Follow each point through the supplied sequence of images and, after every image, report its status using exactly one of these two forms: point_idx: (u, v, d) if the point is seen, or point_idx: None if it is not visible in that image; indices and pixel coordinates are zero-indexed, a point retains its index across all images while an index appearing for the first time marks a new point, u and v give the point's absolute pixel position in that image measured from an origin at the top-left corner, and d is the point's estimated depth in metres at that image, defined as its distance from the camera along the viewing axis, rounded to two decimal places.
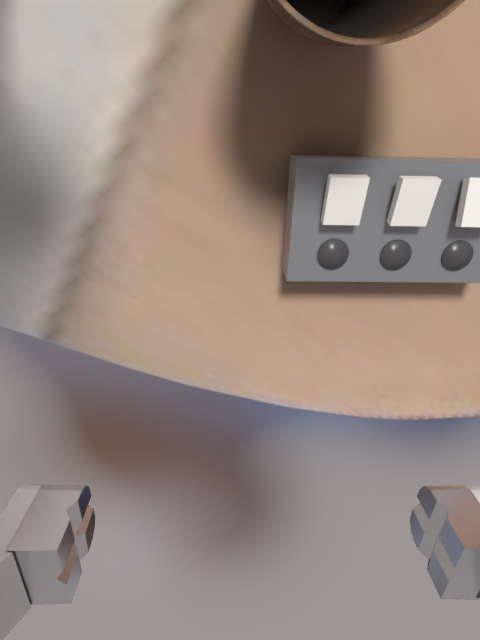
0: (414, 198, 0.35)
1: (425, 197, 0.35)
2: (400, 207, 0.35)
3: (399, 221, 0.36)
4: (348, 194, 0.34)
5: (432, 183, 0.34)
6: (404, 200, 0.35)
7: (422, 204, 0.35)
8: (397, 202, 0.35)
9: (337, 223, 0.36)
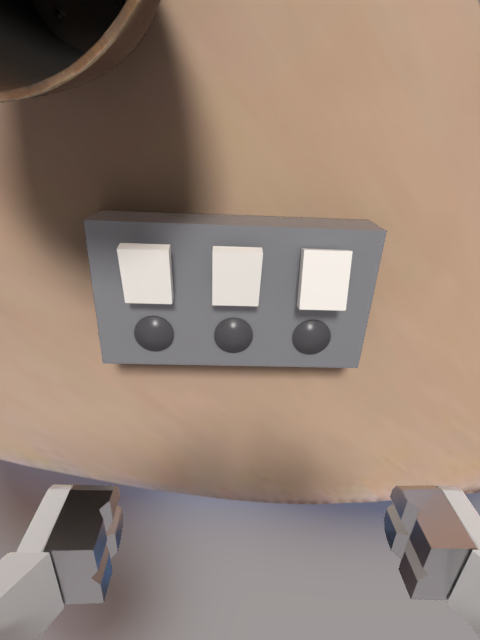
0: (234, 274, 0.27)
1: (247, 273, 0.27)
2: (219, 284, 0.28)
3: (222, 300, 0.28)
4: (146, 269, 0.27)
5: (252, 258, 0.26)
6: (221, 277, 0.27)
7: (246, 281, 0.28)
8: (213, 279, 0.27)
9: (143, 301, 0.28)
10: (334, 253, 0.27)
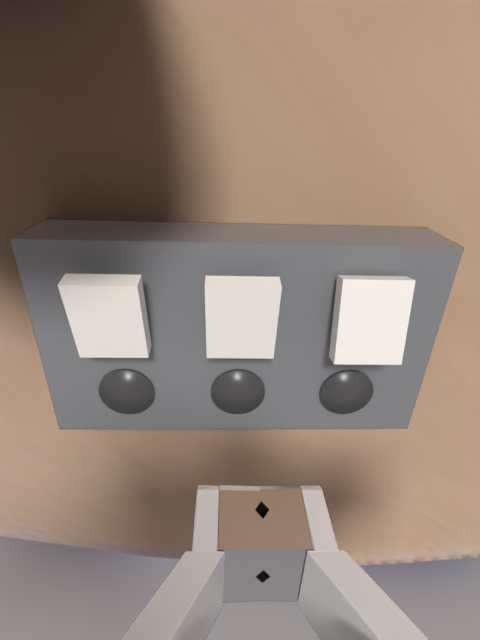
0: (238, 317, 0.18)
1: (258, 316, 0.18)
2: (215, 331, 0.19)
3: (221, 351, 0.20)
4: (106, 312, 0.18)
5: (265, 294, 0.17)
6: (219, 321, 0.18)
7: (256, 326, 0.19)
8: (207, 323, 0.18)
9: (106, 355, 0.19)
10: (389, 283, 0.18)
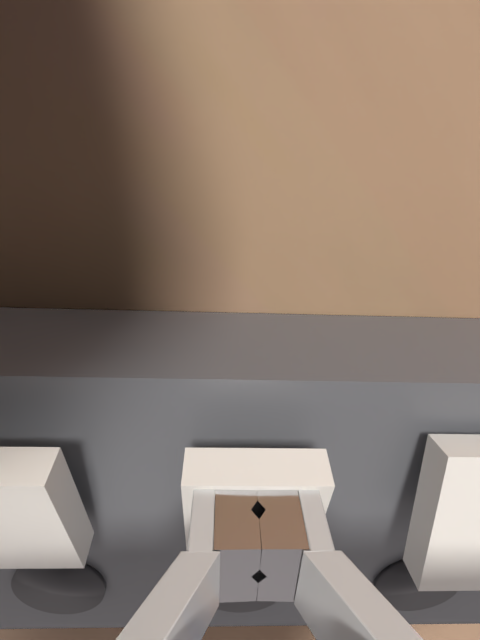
0: None
1: None
2: None
3: None
4: None
5: None
6: None
7: None
8: (188, 530, 0.10)
9: (6, 567, 0.11)
10: None
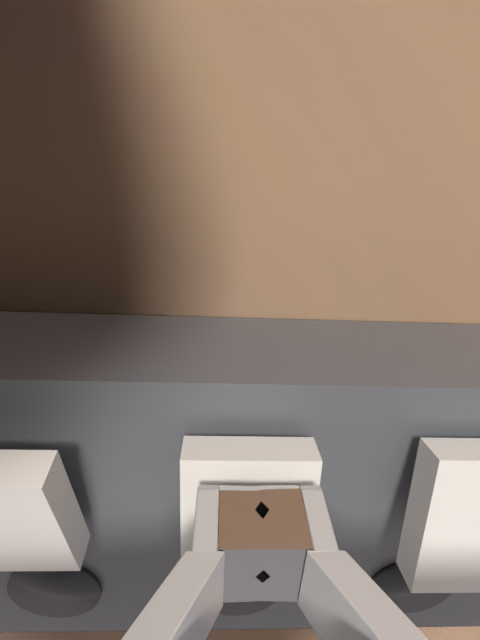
0: None
1: None
2: None
3: None
4: None
5: (291, 474, 0.09)
6: None
7: None
8: (183, 528, 0.10)
9: (3, 569, 0.11)
10: None
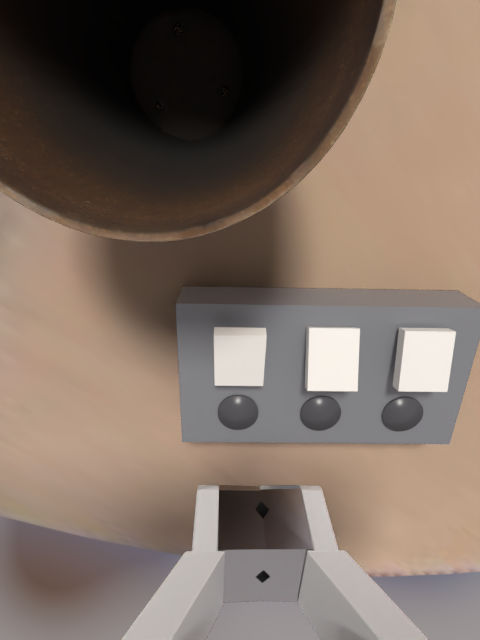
0: (331, 353, 0.26)
1: (345, 351, 0.26)
2: (315, 365, 0.26)
3: (318, 384, 0.26)
4: (241, 353, 0.26)
5: (349, 333, 0.26)
6: (317, 356, 0.26)
7: (344, 360, 0.26)
8: (309, 358, 0.26)
9: (233, 384, 0.27)
10: (437, 334, 0.26)
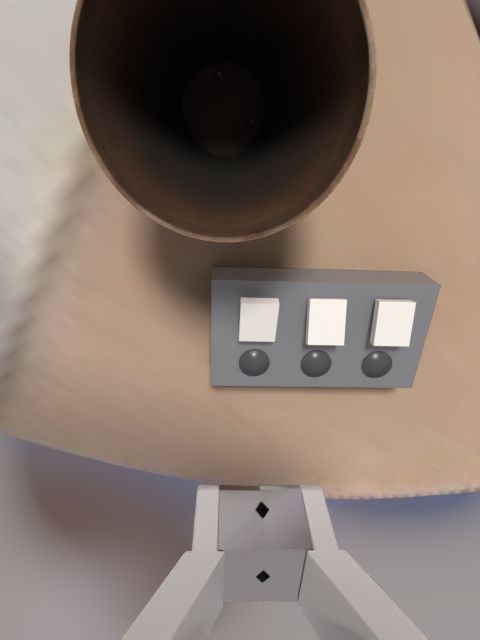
0: (325, 317, 0.36)
1: (335, 316, 0.36)
2: (313, 326, 0.36)
3: (316, 340, 0.36)
4: (260, 317, 0.35)
5: (339, 303, 0.36)
6: (315, 319, 0.36)
7: (334, 323, 0.36)
8: (309, 321, 0.36)
9: (253, 340, 0.37)
10: (402, 304, 0.36)
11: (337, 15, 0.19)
